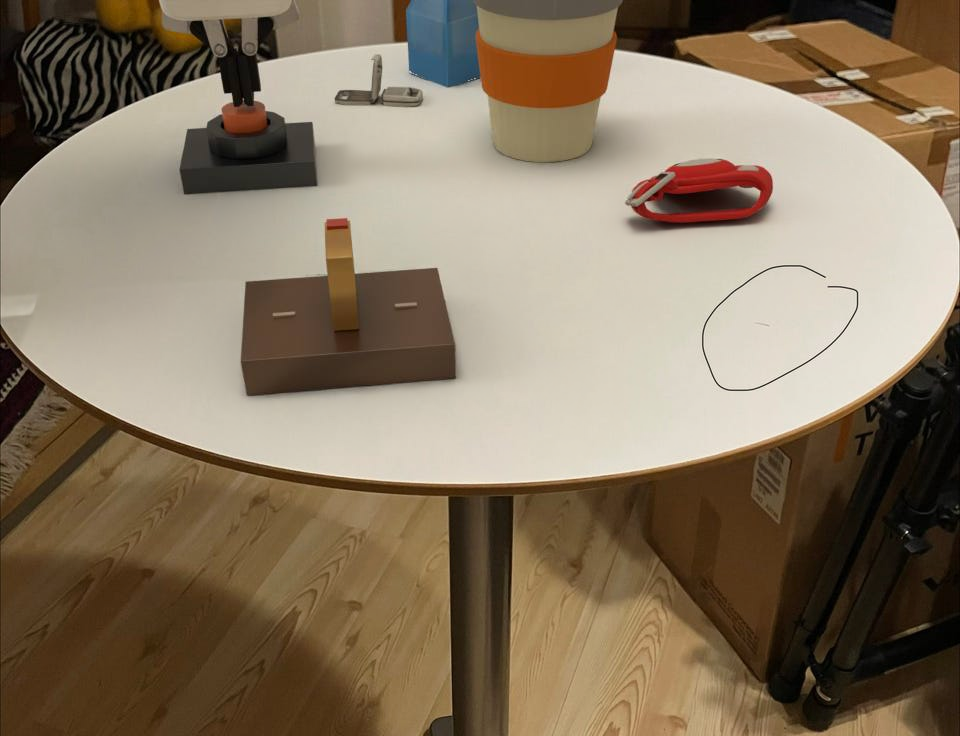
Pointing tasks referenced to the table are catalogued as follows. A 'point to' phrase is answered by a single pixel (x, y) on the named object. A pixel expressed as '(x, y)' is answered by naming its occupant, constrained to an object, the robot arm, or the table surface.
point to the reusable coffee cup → (545, 73)
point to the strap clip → (388, 96)
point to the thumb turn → (341, 274)
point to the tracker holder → (701, 188)
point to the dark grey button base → (248, 157)
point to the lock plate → (346, 333)
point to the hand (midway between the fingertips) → (244, 100)
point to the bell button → (244, 117)
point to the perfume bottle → (443, 40)
